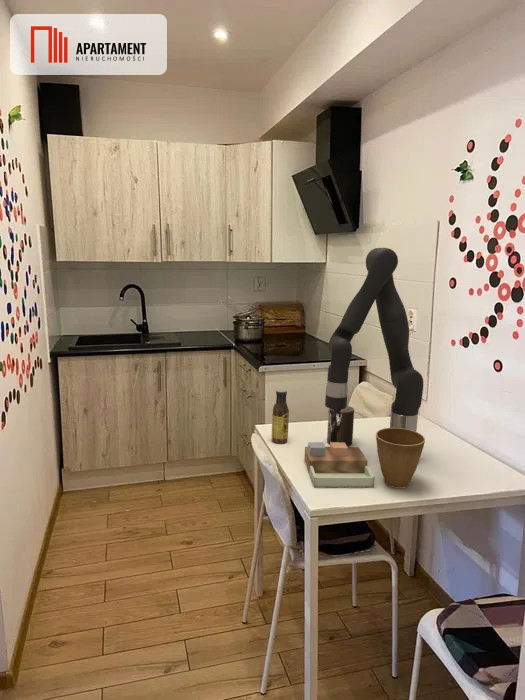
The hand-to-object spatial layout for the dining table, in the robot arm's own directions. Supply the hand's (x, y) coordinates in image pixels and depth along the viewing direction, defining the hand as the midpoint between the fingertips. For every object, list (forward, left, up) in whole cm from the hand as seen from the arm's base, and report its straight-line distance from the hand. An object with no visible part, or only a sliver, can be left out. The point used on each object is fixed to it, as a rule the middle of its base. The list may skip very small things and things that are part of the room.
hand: (333, 441), depth 181 cm
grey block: (+7, +8, -1) cm, 11 cm away
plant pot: (-17, +20, -7) cm, 27 cm away
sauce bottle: (+17, -16, -7) cm, 24 cm away
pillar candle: (-6, -15, -7) cm, 17 cm away
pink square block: (0, +8, -1) cm, 8 cm away
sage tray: (+1, +19, -6) cm, 20 cm away
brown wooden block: (+1, +8, -6) cm, 10 cm away
